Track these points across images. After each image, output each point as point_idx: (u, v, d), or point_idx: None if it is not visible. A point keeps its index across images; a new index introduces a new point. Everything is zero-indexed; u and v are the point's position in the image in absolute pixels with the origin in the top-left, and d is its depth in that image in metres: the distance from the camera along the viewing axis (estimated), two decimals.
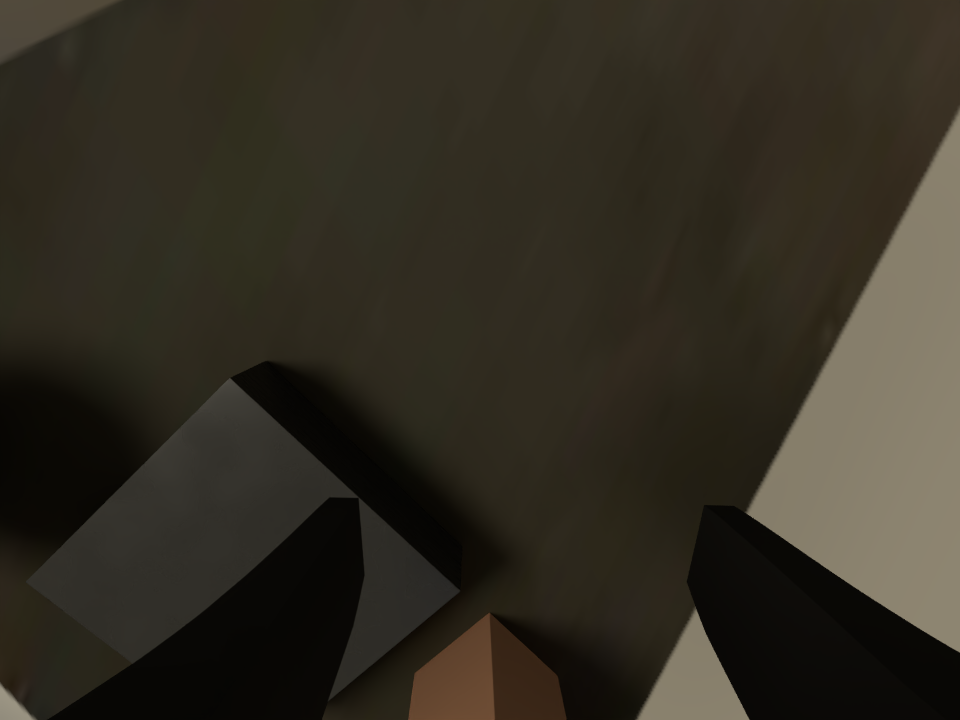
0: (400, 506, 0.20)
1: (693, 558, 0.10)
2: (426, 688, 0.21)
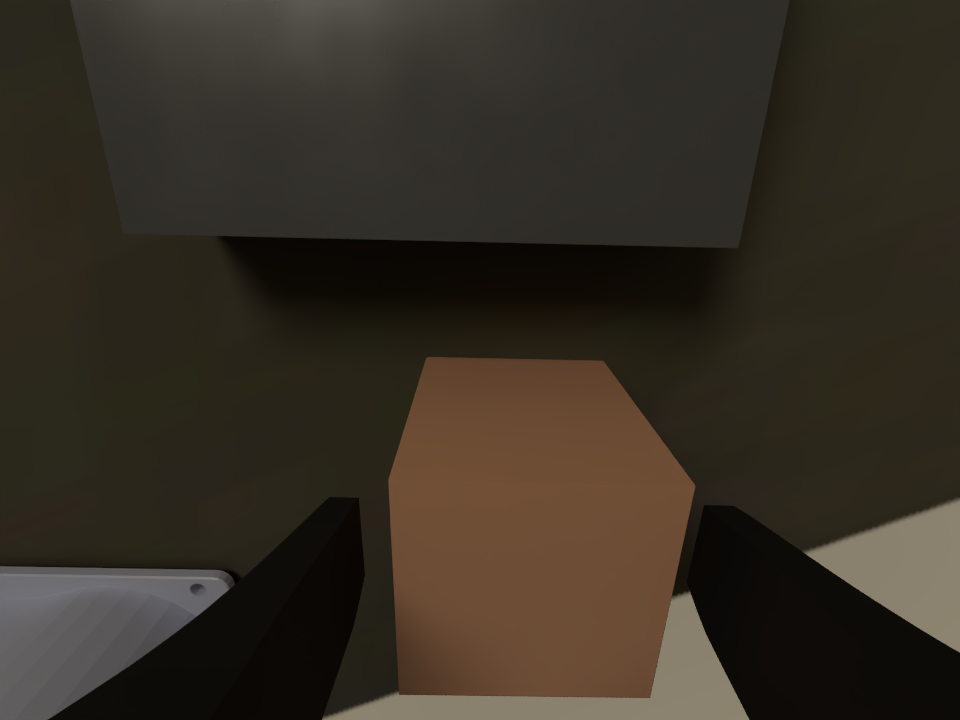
0: None
1: (693, 558, 0.10)
2: (460, 377, 0.12)
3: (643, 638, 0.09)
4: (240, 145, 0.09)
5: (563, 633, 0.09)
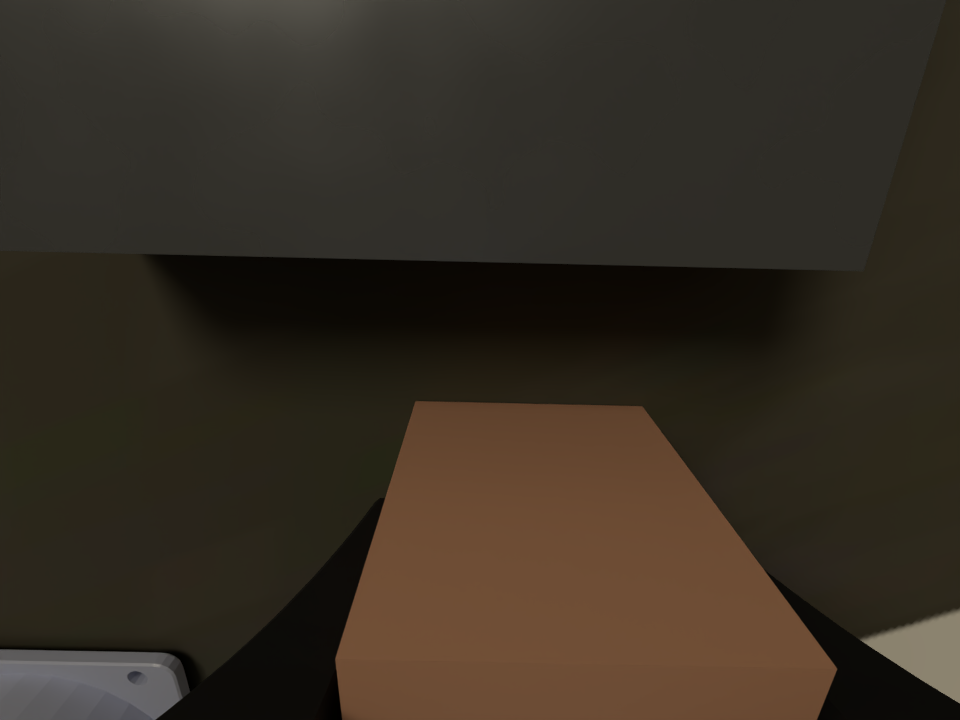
0: None
1: None
2: (457, 436, 0.09)
3: None
4: (125, 118, 0.06)
5: None
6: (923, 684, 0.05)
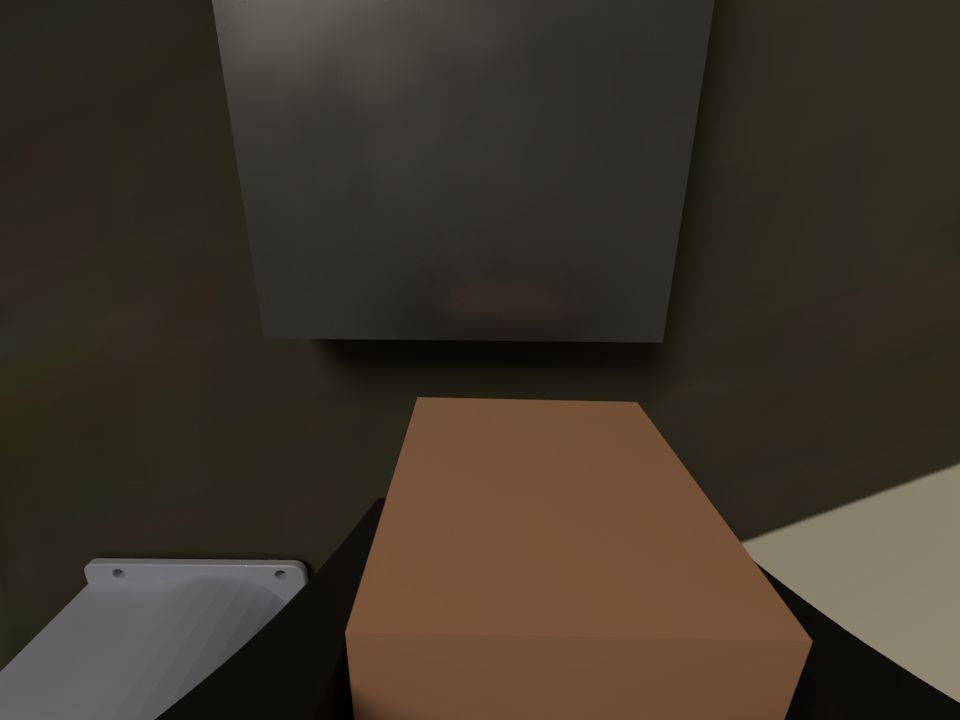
0: None
1: None
2: (458, 430, 0.09)
3: None
4: (342, 285, 0.13)
5: None
6: (924, 684, 0.05)
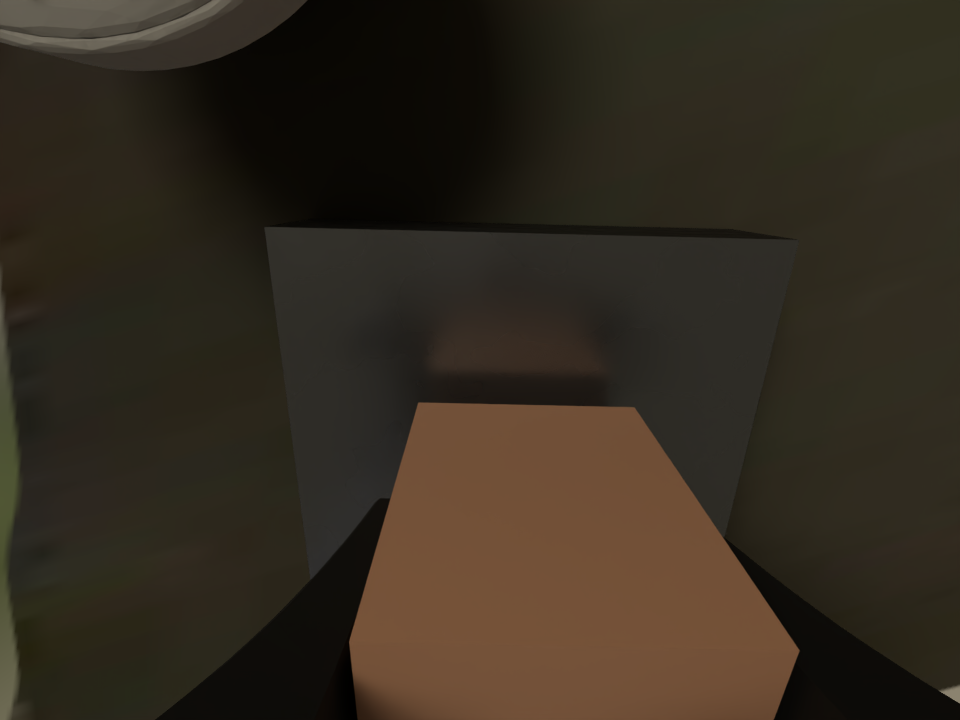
0: None
1: None
2: (458, 437, 0.09)
3: None
4: None
5: None
6: (922, 683, 0.05)
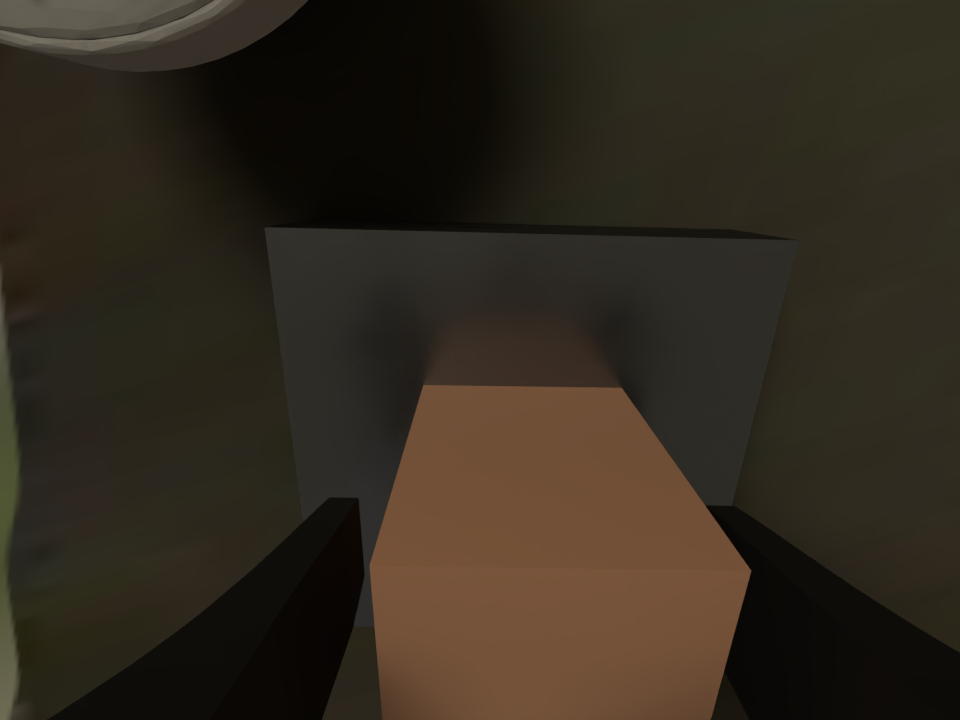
0: None
1: None
2: (460, 412, 0.10)
3: None
4: None
5: None
6: None
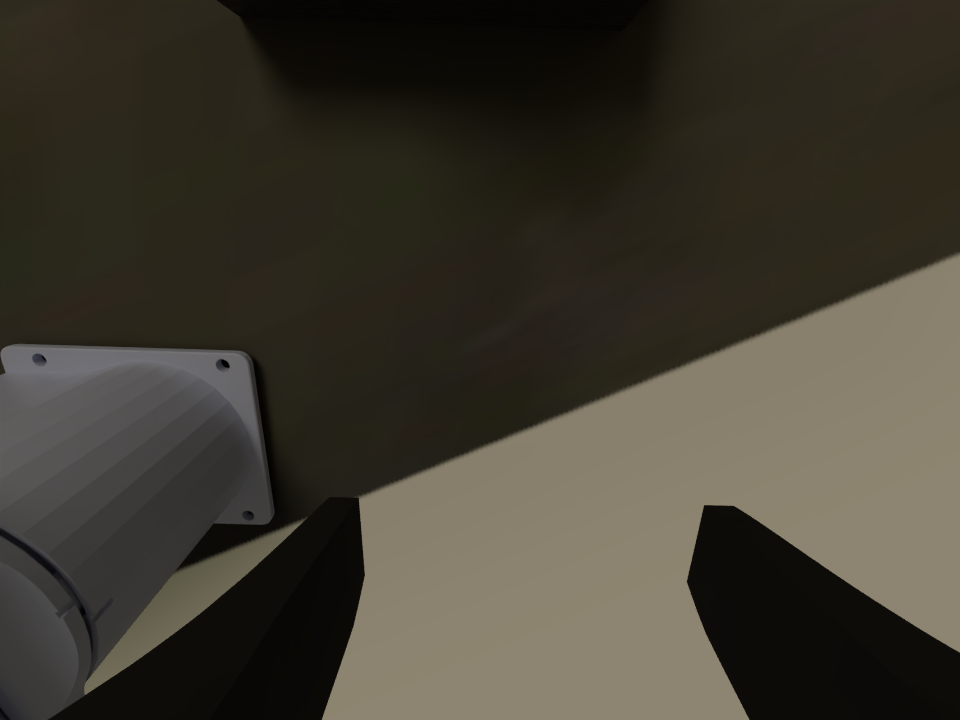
0: None
1: (693, 558, 0.10)
2: None
3: None
4: None
5: None
6: None
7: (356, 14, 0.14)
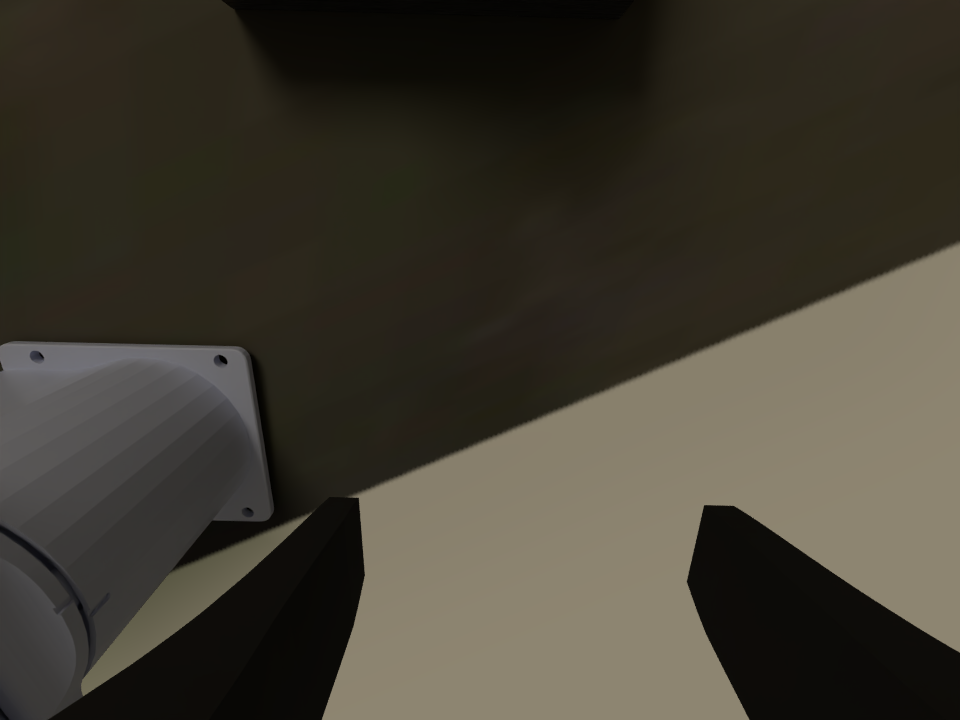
0: None
1: (693, 558, 0.10)
2: None
3: None
4: None
5: None
6: None
7: (351, 5, 0.14)
